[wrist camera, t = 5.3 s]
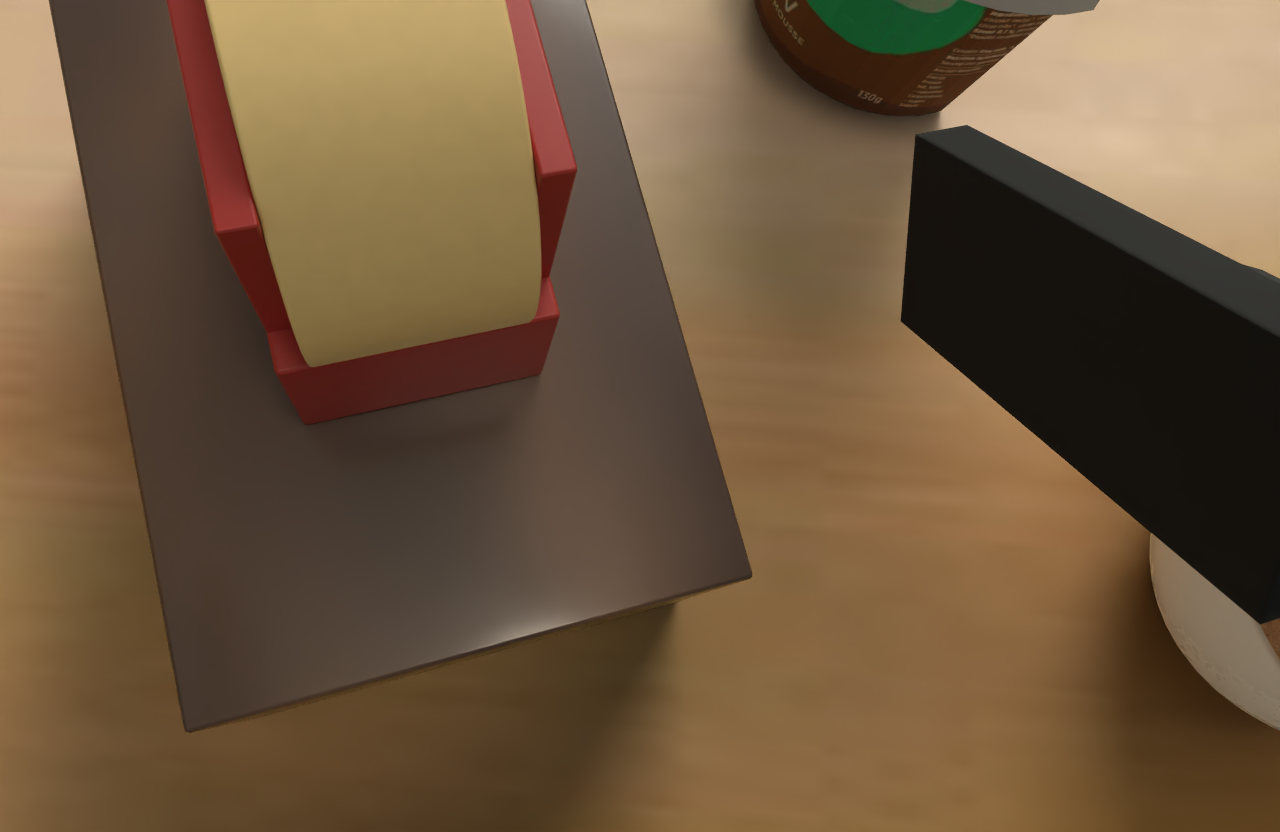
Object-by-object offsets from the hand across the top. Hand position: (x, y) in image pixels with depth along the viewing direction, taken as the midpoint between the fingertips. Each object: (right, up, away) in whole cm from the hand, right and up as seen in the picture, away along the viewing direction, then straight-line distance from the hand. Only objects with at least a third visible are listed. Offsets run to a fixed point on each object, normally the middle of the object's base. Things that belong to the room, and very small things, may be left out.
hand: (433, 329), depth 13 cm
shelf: (-4, +1, +18) cm, 19 cm away
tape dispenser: (-3, +4, +11) cm, 12 cm away
